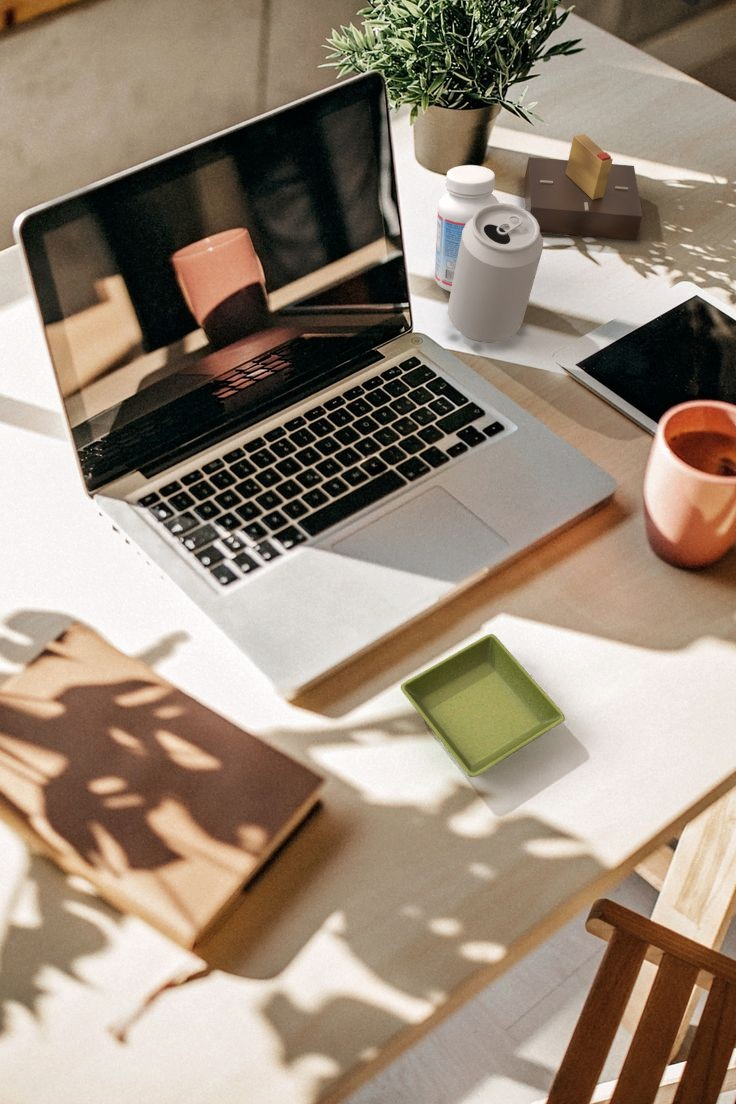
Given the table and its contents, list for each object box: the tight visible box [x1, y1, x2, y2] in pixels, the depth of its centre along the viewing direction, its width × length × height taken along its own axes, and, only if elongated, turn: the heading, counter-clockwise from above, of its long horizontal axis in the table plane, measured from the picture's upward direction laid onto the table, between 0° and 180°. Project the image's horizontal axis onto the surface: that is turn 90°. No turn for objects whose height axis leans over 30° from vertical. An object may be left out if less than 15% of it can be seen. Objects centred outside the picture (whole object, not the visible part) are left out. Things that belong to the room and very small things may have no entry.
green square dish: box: [400, 633, 566, 778], centre depth 74 cm, size 9×9×2 cm
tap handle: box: [566, 133, 613, 200], centre depth 112 cm, size 6×1×5 cm, turn 26°
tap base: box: [523, 156, 643, 241], centre depth 115 cm, size 12×10×3 cm
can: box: [447, 202, 544, 343], centre depth 98 cm, size 8×8×12 cm
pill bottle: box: [434, 164, 500, 293], centre depth 102 cm, size 6×6×11 cm
